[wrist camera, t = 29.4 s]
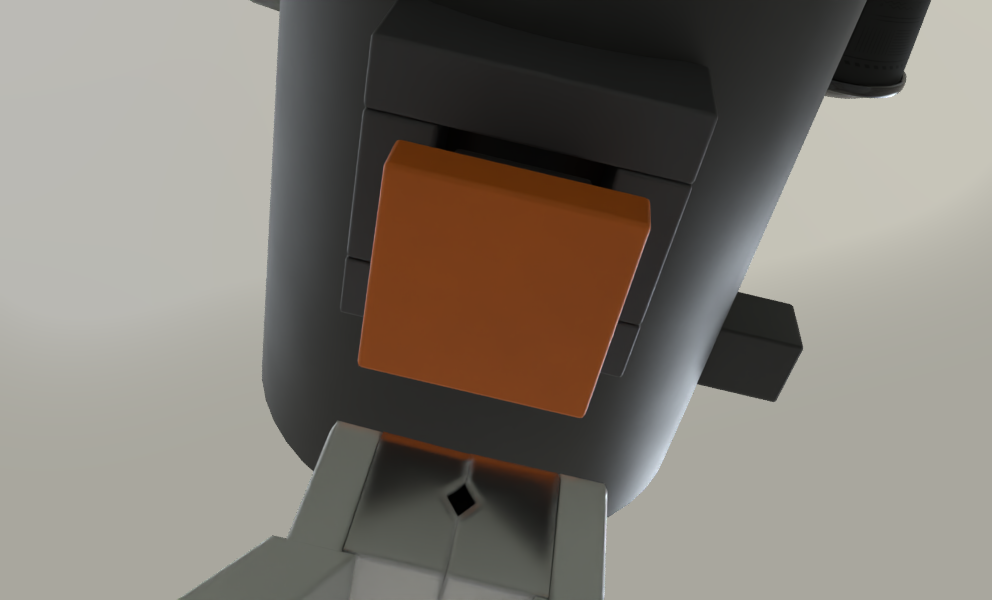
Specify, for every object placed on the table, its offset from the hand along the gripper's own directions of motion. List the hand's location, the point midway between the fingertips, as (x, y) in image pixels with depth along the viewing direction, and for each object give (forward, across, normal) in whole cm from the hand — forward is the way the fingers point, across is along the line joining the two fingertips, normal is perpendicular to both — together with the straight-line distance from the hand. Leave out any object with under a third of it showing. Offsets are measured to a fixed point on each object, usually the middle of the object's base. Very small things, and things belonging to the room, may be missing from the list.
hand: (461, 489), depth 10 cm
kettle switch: (+5, 0, -2) cm, 5 cm away
